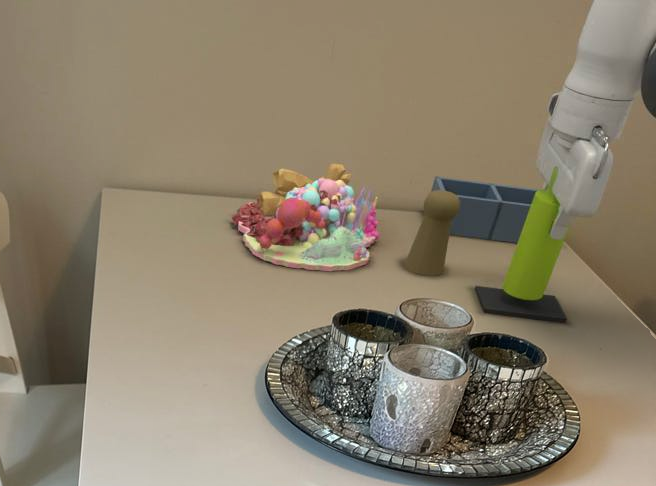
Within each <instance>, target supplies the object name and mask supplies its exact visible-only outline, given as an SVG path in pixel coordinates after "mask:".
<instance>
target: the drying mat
mask: <svg viewBox="0 0 656 486" xmlns="http://www.w3.org/2000/svg"><path fill="white" fill-rule="evenodd" d="M474 291H475V293H476V296H477V299H478V301H479V304H480V307H481V309H482V312H483V313H485V314H494V315H502V316H510V317H515V318H516V317H517V318H525V319H533V320H541V321H549V322H557V323H565V324H567V320H568V318H567V316H566V314H565V312H564V310H563V308H562V307H561V304H560V302H559V301H558V299H557V298H556V296H555V295H551V294H545V293H544V294H543V297H542V298H540V299H538V300H524V299H519V298H516V297H513V296H511V295H509V294H508V293H506V292H505V291H504V290H503V288H498V287H490V286H481V285H475V287H474Z"/></svg>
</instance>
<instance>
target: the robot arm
mask: <svg viewBox="0 0 656 486" xmlns="http://www.w3.org/2000/svg"><path fill="white" fill-rule="evenodd" d="M639 92H640V93H641V95H640V96H641V99H642V102H643V105H644V106H645V108H646V109H647V111H648V112H649V114H650V115H651V116H653V118H655V119H656V0H593V3H592V5H591V6H590V9H589V12H588V14H587V16H586V20H585V22H584V25H583V28H582V30H581V34H580V36H579V39H578V43H577V47H576V57H575V61H574V63H573V66H572V68H571V70H570V72H569V73H568V75H567V77H566V78H565V80H564V83H563V86H562V89H561V91H560V92H557V93H553V94H552V95H551V97H550V100H549V102H548V105H547V113H548V117H547V120H546V122H545V126H544V129H543V133H542V136H541V140H540V143H539V147H538V150H537V155H536V161H535V162H536V163H535V168H536V170H537V171H538V173H539V174H540V176H541V178H542V179H543V181H544V182H543V185H542V189H541V190H547V187H548V184H549V182H550V179H551V176H552V173H553V170H554V168H555V167H557V168H558V170H559V172H558V175H557V177H556V180H555V182H554V185H553V188H552V193H553V194H554V196H555V197H556V199H557V200H558V202H559V203H560V207H559V210H558V211H559V213H558V215H557V217H556V219H555V221H552V224H551V226H550V229H549V235H550V236H551V238H552V239H559V240H560V239H563V237H564V235H565V233H566V230H567V228H568V226H569V225H570V224H571V225H572V223H573V221H574V220H575V218H576V217H577V218H579V217H580V218H588V219H589V218H592V217H593V216H594V215H595V213H596V212H597V210H598V209H599V206H600V204H601V201H602V198H603V195H604V193H605V190H606V186H607V183H608V181H609V178H610V175H611V170H612V168H613V163H614V154H613V152H612V150H611V149H610V143H611V142H614V141H617V140H619V139H620V137H621V135H622V133H623V130H624V128H625V125H626V123H627V120H628V118H629V115H630V112H631V111H632V107H633V105H634V102H635V100H636V97H637V95H638V93H639ZM571 225H570V226H571Z"/></svg>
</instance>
